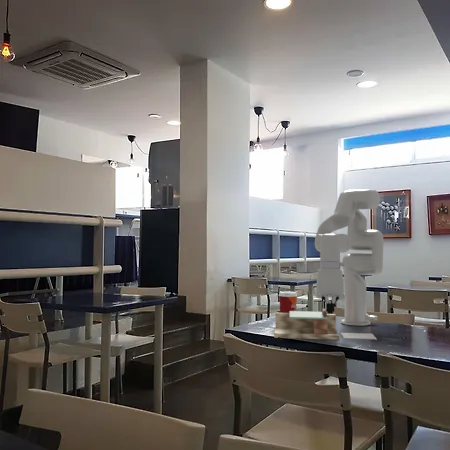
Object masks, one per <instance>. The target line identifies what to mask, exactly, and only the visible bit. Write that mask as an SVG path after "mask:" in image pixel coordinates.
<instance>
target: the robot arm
mask: <svg viewBox="0 0 450 450" xmlns="http://www.w3.org/2000/svg"><path fill="white" fill-rule="evenodd" d="M380 203H381V196H380V193H379V192H378V191H377V190H376V189H366V188H363V189H347V190H344V191H342V192H340V194H339V196H338V200H337V203H336V206H335V208H334V213H333V214H332V215H331V216H329V217H328V218H327V217H326V219H325V220H324V221H322V223H321V224H320V225H319V227H318V229H317V231H316V234H315V238H314V248H315V250H316V251H317V252H319V259H320V261H319V264H320V265H319V268H318V270H317V275H316V295H315V297H316V298H317V299H319V300H320V299H322V300H323V301H324V302H325V309H326V311H327V314H334V312H335V304H336V303H337V301H338V300H343V299H344V318H343V319H341V320H340V323H341V324H343V325H346V326H347V325H348V326H356V327H357V326H361V327H362V326H363V327H364V326H369V325H371V321H378V316H377V315H369V314H368V313H367V283H366V281H365V280H364V279H363V277H362V276H379V275H380V274H381V273H382V271H383V268H384V267H383V265H384V246H385V245H384V235H383V233H382V232H381V231H380V230H378V229H368V219H367V218H366V216H365V214H364V213H363V212H362V210H376V209H377V208H379V206H380ZM344 228H347V234H345V233H333V232H335V231H337V230H341V229H344ZM348 251H356V252H354V253H353V252H352V253H347V252H348ZM358 251H359V252H361V253H359V252H358ZM368 251H369V252H371V253H362V252H368ZM341 253H347V254H345V255H344V256H343V258H342V261H341ZM341 268H342V269H341ZM329 296H331V301H330V300H329Z"/></svg>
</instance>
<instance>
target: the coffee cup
mask: <svg viewBox="0 0 450 450" xmlns="http://www.w3.org/2000/svg"><path fill="white" fill-rule="evenodd" d="M278 297H279V300H278V301H279V313H290V311H297V304H298V301H297V299H298V293H297V292H296V291H279V294H278Z"/></svg>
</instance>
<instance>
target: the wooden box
mask: <svg viewBox="0 0 450 450" xmlns="http://www.w3.org/2000/svg"><path fill="white" fill-rule="evenodd" d="M289 317H290V313H280V312H275V323H274V324H275V327H274V334H273V337H274V338H275V339H279V338H278V337H287V338H286V339H297V338H298V339H301V340H329V341H331V340H332V341H333V340H334V341H339V340H340V334H337V333H338V332H337V323H336V322H337V319H336V318H337V315H336V313H333V314H331V313H330V314H328V313H327V334H314V332H313V319H295V318H289Z"/></svg>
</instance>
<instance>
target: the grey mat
mask: <svg viewBox="0 0 450 450" xmlns="http://www.w3.org/2000/svg"><path fill="white" fill-rule="evenodd" d="M340 334H341V336H342V338H343V339H346V340H347V339H349V340H350V339H351V340H353V339H354V340H375V341H377V339H378V338H377V337H376V336H375V335H374V334H373V333H366V332H365V333H363V332H362V333H361V332H359V333H356V332H341V333H340Z"/></svg>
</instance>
